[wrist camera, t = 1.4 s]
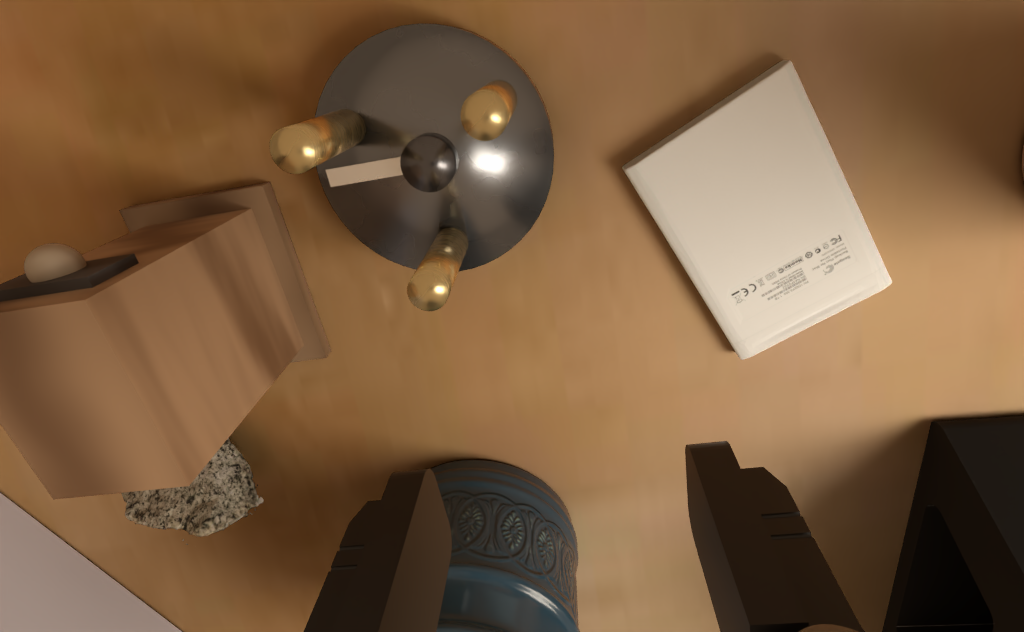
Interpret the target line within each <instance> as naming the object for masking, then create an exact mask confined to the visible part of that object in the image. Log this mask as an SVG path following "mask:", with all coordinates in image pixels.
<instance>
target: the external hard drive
mask: <svg viewBox="0 0 1024 632" xmlns="http://www.w3.org/2000/svg"><path fill="white" fill-rule="evenodd" d="M622 169H623V171H624V172H625V174H626V175H627V177H628V178H629V180H630V182H631V183H632V185H633V187H634V188H635V190H636V191H637V193H638V195H639V196H640V198H641V200H642V201H643V203H644V204H645V206H646V208H647V209H648V211H649V212H650V214H651V216H652V217H653V219H654V220H655V222H656V224H657V225H658V227H659V228H660V230H661V232H662V233H663V235H664V237H665V238H666V240H667V242H668V243H669V245H670V246H671V248H672V250H673V251H674V253H675V254H676V256H677V258H678V259H679V261H680V263H681V264H682V266H683V267H684V269H685V271H686V272H687V274H688V276H689V277H690V279H691V280H692V282H693V284H694V285H695V287H696V288H697V290H698V292H699V294H700V295H701V297H702V298H703V300H704V302H705V303H706V305H707V306H708V308H709V310H710V311H711V313H712V314H713V316H714V318H715V319H716V321H717V322H718V324H719V326H720V327H721V329H722V331H723V332H724V334H725V335H726V337H727V339H728V341H729V342H730V344H731V345H732V347H733V349H734V350H735V352H736V353H737V355H738V357H739V358H740V359H741V360H743V359H747V358H750V357H752V356H754V355H756V354H758V353H760V352H762V351H764V350H766V349H768V348H770V347H772V346H773V345H775V344H777V343H779V342H781V341H783V340H785V339H787V338H789V337H791V336H793V335H795V334H797V333H799V332H801V331H803V330H805V329H807V328H808V327H810V326H812V325H814V324H817V323H819V322H820V321H822V320H825V319H826V318H828V317H830V316H832V315H834V314H836V313H838V312H840V311H842V310H844V309H846V308H848V307H850V306H852V305H854V304H856V303H858V302H860V301H862V300H864V299H866V298H868V297H870V296H872V295H874V294H876V293H878V292H880V291H882V290H883V289H885V288H886V287H888V286H889V285H890V284H891V283H892V281H891V278H890V276H889V274H888V272H887V270H886V268H885V265H884V263H883V261H882V258H881V256H880V254H879V252H878V249H877V247H876V245H875V243H874V241H873V238H872V236H871V234H870V232H869V229H868V227H867V225H866V223H865V220H864V218H863V216H862V214H861V212H860V209H859V207H858V205H857V203H856V201H855V199H854V196H853V194H852V192H851V190H850V188H849V185H848V183H847V181H846V179H845V177H844V174H843V172H842V170H841V168H840V166H839V163H838V161H837V159H836V157H835V155H834V152H833V150H832V148H831V146H830V144H829V141H828V139H827V137H826V135H825V132H824V130H823V128H822V126H821V124H820V122H819V120H818V117H817V115H816V113H815V111H814V109H813V107H812V105H811V103H810V101H809V99H808V96H807V94H806V92H805V89H804V87H803V85H802V83H801V80H800V78H799V76H798V74H797V72H796V70H795V68H794V65H793V63H792V61H790V60H782V61H780V62H779V63H777V64H776V65H774V66H773V67H771V68H770V69H768V70H767V71H765V72H764V73H762V74H761V75H759V76H758V77H756V78H755V79H753V80H752V81H750V82H749V83H747V84H746V85H744V86H743V87H741V88H740V89H738V90H737V91H735V92H734V93H732V94H731V95H729V96H728V97H726V98H725V99H723V100H722V101H720V102H719V103H717V104H716V105H714V106H713V107H711V108H710V109H708V110H707V111H705V112H704V113H702V114H700V115H699V116H697V117H696V118H694V119H693V120H691V121H690V122H688V123H687V124H685V125H684V126H682V127H681V128H679V129H678V130H676V131H675V132H673V133H672V134H670V135H669V136H667V137H666V138H664V139H663V140H661V141H660V142H658V143H657V144H655V145H654V146H652V147H651V148H649V149H648V150H646V151H645V152H643V153H642V154H640V155H639V156H637V157H635V158H634V159H632V160H631V161H629V162H628V163H626V164H625V165H624V166H623V167H622Z"/></svg>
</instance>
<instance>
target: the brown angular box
mask: <svg viewBox="0 0 1024 632" xmlns="http://www.w3.org/2000/svg"><path fill="white" fill-rule="evenodd" d="M119 211H120V213H121V215H122V217H123V219H124V221H125V223H126V225H127V227H128V229H129V231H130V233H129V234H127V235H124V236H122V237H120V238H118V239H116V240H113V241H111V242H109V243H107V244H104V245H102V246H100V247H98V248H96V249H93V250H91V251H89V252H87V253H85V254H82V255H81V254H80V253H79V252H78V251H77V250H75V249H74V248H72V247H70V246H67V245H64V244H58V243H50V244H44V245H41V246H39V247H36V248H35V249H33V250H32V251H31V252H30V253H29V254H28V255H27V257H26V259H25V262H24V271H25V274H23V275H21V276H18V277H16V278H14V279H12V280H9V281H7V282H5V283H2V284H0V424H1V425H2V427H3V428H4V430H5V431H6V433H7V434H8V435H9V437H10V438H11V440H12V441H13V442H14V444H15V445H16V447H17V448H18V450H19V451H20V452H21V454H22V455H23V457H24V458H25V460H26V461H27V462H28V464H29V465H30V467H31V468H32V470H33V471H34V472H35V474H36V475H37V477H38V478H39V479H40V481H41V482H42V484H43V485H44V487H45V488H46V489H47V491H48V492H49V494H50V495H51V497H52V498H53V499H62V498H73V497H83V496H93V495H103V494H113V493H124V492H134V491H144V490H154V489H165V488H175V487H185V486H189V485H190V484H191V483H192V482H193V481H194V479H195V478H196V477H197V476H198V474H199V473H200V472H201V471H202V470H203V468H204V467H205V466H206V465H207V463H208V462H209V461H210V460H211V458H212V457H213V456H214V455H215V454H216V452H217V451H218V450H219V449H220V447H221V446H222V445H223V444H224V443H225V441H226V440H227V439H228V438H229V436H230V435H231V434H232V433H233V432H234V430H235V429H236V428H237V427H238V425H239V424H240V423H241V422H242V421H243V419H244V418H245V417H246V416H247V414H248V413H249V412H250V411H251V410H252V408H253V407H254V406H255V405H256V403H257V402H258V401H259V400H260V398H261V397H262V396H263V395H264V394H265V392H266V391H267V390H268V389H269V387H270V386H271V385H272V384H273V383H274V381H275V380H276V379H277V378H278V376H279V375H280V374H281V373H282V372H283V370H284V369H285V368H286V367H287V365H288V364H289V363H291V362H299V361H306V360H314V359H322V358H327V356H328V355H329V353H330V352H331V349H330V346H329V344H328V341H327V338H326V335H325V332H324V330H323V327H322V324H321V321H320V319H319V316H318V313H317V310H316V308H315V305H314V302H313V299H312V297H311V294H310V291H309V288H308V286H307V283H306V280H305V277H304V275H303V272H302V269H301V266H300V264H299V261H298V258H297V255H296V253H295V250H294V247H293V244H292V241H291V239H290V236H289V233H288V230H287V228H286V225H285V222H284V219H283V217H282V214H281V211H280V208H279V206H278V203H277V200H276V197H275V195H274V192H273V189H272V186H271V184H270V182H266V183H261V184H255V185H249V186H243V187H238V188H232V189H226V190H220V191H215V192H209V193H203V194H197V195H192V196H186V197H180V198H174V199H169V200H163V201H157V202H151V203H146V204H140V205H134V206H129V207H127V208H124V209H121V210H119Z"/></svg>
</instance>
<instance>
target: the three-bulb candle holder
mask: <svg viewBox="0 0 1024 632" xmlns="http://www.w3.org/2000/svg"><path fill="white" fill-rule="evenodd" d="M269 147H270V153H271V156H272V158H273V160H274V162H275V163H276V164H277V165H278V166H279V167H280V168H281V169H282V170H284V171H286V172H288V173H291V174H301V173H304V172H306V171H308V170H310V169H312V168H314V167H315V166H316V167H317V171H318V175H319V179H320V182H321V184H322V187H323V189H324V192H325V194H326V196H327V198H328V200H329V202H330V204H331V206H332V208H333V209H334V211H335V212H336V214H337V215H338V217H339V218H340V219H341V221H342V222H343V223H344V224H345V226H346V227H347V228H348V229H349V230H350V231H351V232H352V234H354V235H355V236H356V237H357V238H358V239H359V240H360V241H361V242H362V243H363V244H365V245H366V246H368V247H369V248H370V249H372V250H373V251H374V252H376V253H378V254H379V255H381V256H383V257H385V258H386V259H388V260H391V261H393V262H395V263H398V264H400V265H402V266H406V267H409V268H413V269H416V272H415V273H414V275H413V277H412V279H411V280H410V282H409V284H408V287H407V294H408V297H409V299H410V301H411V302H412V304H413V305H415V306H416V307H417V308H419V309H421V310H425V311H434V310H437V309H439V308H441V307H442V306H443V305H444V304H445V303H446V301H447V298H448V296H449V293H450V291H451V288H452V286H453V283H454V281H455V278H456V276H457V273H458V271H462V270H467V269H472V268H475V267H478V266H481V265H484V264H486V263H488V262H490V261H492V260H494V259H496V258H498V257H500V256H501V255H503V254H504V253H506V252H507V251H509V250H510V249H511V248H512V247H514V246H515V245H516V244H517V243H518V242H519V241H520V240H521V239H522V238H523V237H524V236H525V235H526V233H527V232H528V231H529V230H530V229H531V227H532V226H533V224H534V223H535V221H536V220H537V218H538V217H539V215H540V212H541V210H542V208H543V206H544V204H545V202H546V199H547V196H548V192H549V189H550V185H551V180H552V174H553V162H554V148H553V134H552V129H551V124H550V119H549V116H548V113H547V110H546V107H545V104H544V102H543V100H542V98H541V96H540V94H539V92H538V89H537V88H536V86H535V85H534V83H533V81H532V80H531V78H530V77H529V75H528V74H527V73H526V72H525V70H524V69H523V68H522V67H521V66H520V65H519V63H518V62H517V61H516V60H515V59H514V58H512V57H511V56H510V55H509V54H508V53H507V52H506V51H505V50H503V49H502V48H500V47H499V46H497V45H496V44H494V43H493V42H491V41H490V40H488V39H486V38H484V37H482V36H480V35H478V34H476V33H473V32H470V31H467V30H464V29H461V28H456V27H451V26H445V25H439V24H412V25H404V26H399V27H396V28H392V29H389V30H385V31H383V32H381V33H379V34H377V35H374V36H372V37H370V38H369V39H367V40H366V41H364V42H363V43H361V44H360V45H358V46H357V47H355V48H354V49H353V50H352V51H351V52H350V53H349V54H348V55H347V56H346V57H345V58H344V59H343V60H342V61H341V62H340V64H339V65H338V66H337V67H336V69H335V70H334V71H333V73H332V75H331V76H330V78H329V80H328V81H327V83H326V85H325V87H324V90H323V92H322V95H321V97H320V99H319V103H318V107H317V111H316V115H315V118H312V119H309V120H306V121H303V122H300V123H297V124H293V125H290V126H287V127H284V128H281V129H279V130H277V131H276V132H275V133H274V134H273V135H272V137H271V140H270V145H269Z"/></svg>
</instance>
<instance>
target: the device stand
mask: <svg viewBox="0 0 1024 632" xmlns="http://www.w3.org/2000/svg"><path fill="white" fill-rule="evenodd" d="M882 632H1024V416H1010V417H996V418H981V419H966V420H951V421H937V422H931V426H930V430H929V434H928V439H927V443H926V447H925V452H924V456H923V460H922V464H921V469H920V473H919V477H918V481H917V486H916V490H915V494H914V499H913V503H912V507H911V511H910V516H909V520H908V524H907V529H906V533H905V537H904V541H903V546H902V550H901V554H900V558H899V563H898V567H897V571H896V576H895V580H894V584H893V588H892V593H891V597H890V601H889V605H888V610H887V614H886V618H885V623H884V627H883V631H882Z"/></svg>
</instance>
